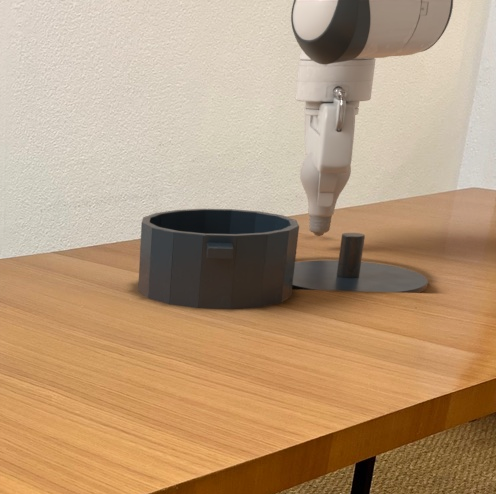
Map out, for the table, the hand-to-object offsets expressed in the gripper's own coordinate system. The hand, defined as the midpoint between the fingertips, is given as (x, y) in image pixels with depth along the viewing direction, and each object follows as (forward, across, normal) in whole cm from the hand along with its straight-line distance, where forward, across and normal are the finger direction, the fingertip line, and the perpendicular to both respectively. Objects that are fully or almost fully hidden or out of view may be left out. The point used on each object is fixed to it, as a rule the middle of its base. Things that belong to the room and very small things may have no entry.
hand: (321, 202), depth 134 cm
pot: (+6, -31, +13) cm, 34 cm away
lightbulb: (+4, 0, 0) cm, 4 cm away
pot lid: (+5, -21, -1) cm, 22 cm away
